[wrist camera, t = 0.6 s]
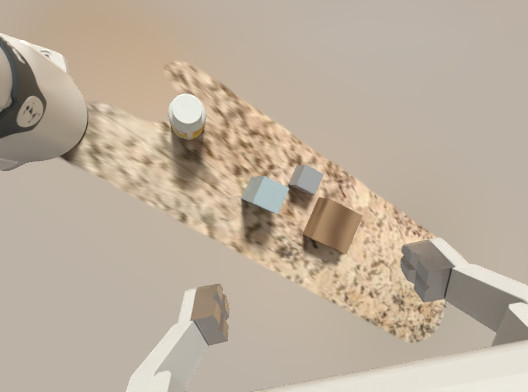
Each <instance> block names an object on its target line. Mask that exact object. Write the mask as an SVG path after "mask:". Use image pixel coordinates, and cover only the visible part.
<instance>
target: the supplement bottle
mask: <svg viewBox="0 0 528 392" xmlns="http://www.w3.org/2000/svg"><path fill="white" fill-rule="evenodd" d="M168 117H169V121H170V124H171V127H172V129H173V131H174V133H175V134H176V135H177V136H179V137H180V138H183V139H187V140H190V139H194V138H196V137H198V136H199V135H200V134H201V133H202V131H203V128H204V124H205V120H206V111H205V108H204V106H203V105H202V103H201V102H200V101H199V100H198V99H197V98H196V97H195V96H193V95H190V94H181V95H179V96H177V97H176V98H175V99H174V100H173V101H172V102H171V103H170V105H169V108H168Z"/></svg>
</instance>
